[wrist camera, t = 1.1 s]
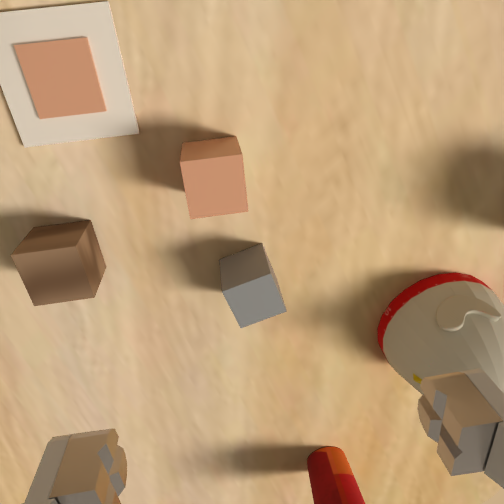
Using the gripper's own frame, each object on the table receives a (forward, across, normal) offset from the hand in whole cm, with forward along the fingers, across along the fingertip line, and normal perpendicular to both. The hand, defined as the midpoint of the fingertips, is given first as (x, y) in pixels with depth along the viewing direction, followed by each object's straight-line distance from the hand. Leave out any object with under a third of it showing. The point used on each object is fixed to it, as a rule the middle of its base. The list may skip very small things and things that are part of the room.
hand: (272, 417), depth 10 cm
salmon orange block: (+27, +1, 0) cm, 27 cm away
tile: (+26, +11, -8) cm, 30 cm away
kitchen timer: (+28, -22, +22) cm, 42 cm away
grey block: (+27, -1, +12) cm, 29 cm away
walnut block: (+27, +15, +6) cm, 31 cm away
